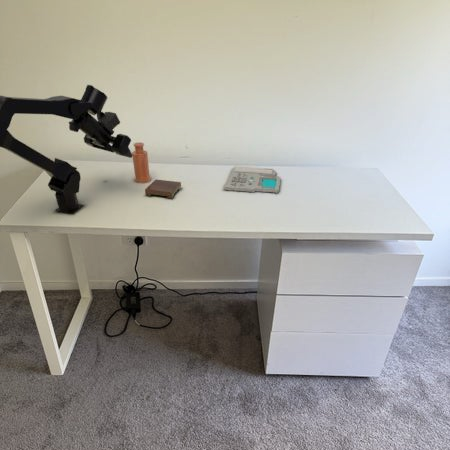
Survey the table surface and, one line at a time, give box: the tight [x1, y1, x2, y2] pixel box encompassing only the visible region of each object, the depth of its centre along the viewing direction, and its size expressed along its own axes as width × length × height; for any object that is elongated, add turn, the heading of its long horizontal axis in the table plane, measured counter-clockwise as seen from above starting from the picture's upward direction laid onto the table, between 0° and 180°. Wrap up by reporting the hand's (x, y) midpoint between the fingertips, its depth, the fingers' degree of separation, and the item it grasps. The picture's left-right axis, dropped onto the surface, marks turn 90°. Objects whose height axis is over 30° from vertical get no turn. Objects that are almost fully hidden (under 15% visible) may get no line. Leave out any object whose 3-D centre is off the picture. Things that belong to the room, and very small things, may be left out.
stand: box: [144, 178, 182, 200], centre depth 139 cm, size 10×10×2 cm
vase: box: [131, 142, 151, 184], centre depth 145 cm, size 6×6×14 cm
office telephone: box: [224, 165, 281, 194], centre depth 149 cm, size 23×3×20 cm
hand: (122, 153), depth 137 cm, fingers open, 9 cm apart
